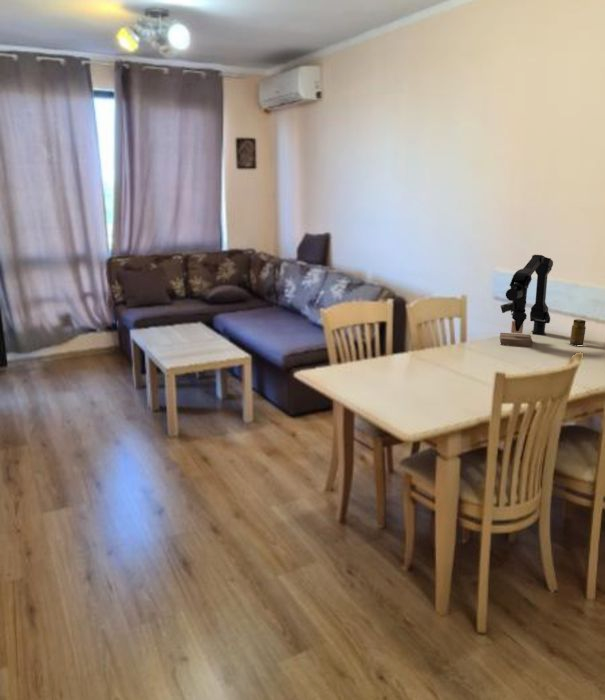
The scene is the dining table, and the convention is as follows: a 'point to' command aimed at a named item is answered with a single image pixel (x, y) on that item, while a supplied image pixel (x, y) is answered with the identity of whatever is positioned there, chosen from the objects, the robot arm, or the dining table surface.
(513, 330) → the cube
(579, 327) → the condiment
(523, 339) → the base plinth
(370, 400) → the dining table surface
